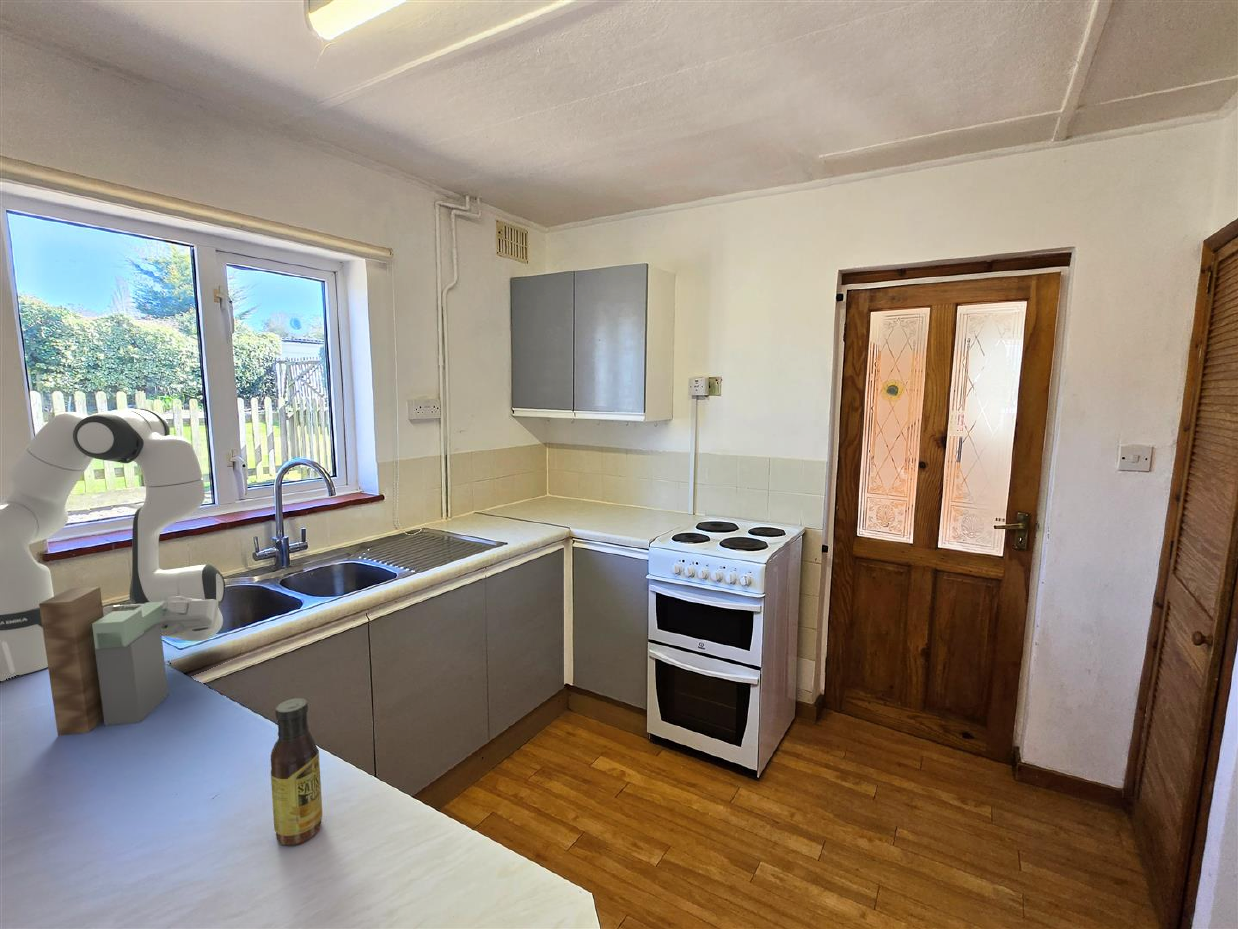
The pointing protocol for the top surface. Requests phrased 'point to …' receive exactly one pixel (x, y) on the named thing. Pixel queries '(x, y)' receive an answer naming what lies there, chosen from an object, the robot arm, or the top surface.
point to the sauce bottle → (295, 776)
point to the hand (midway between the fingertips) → (140, 607)
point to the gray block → (132, 678)
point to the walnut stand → (73, 658)
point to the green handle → (126, 625)
